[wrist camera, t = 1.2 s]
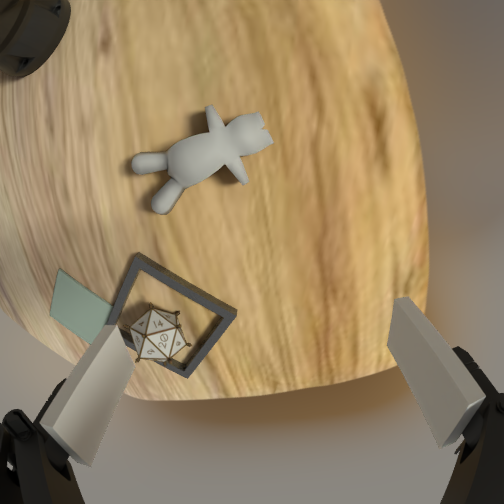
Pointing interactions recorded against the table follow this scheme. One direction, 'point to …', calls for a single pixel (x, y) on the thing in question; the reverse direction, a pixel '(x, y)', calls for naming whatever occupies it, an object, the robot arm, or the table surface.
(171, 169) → the grey teddy bear
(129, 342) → the socket frame
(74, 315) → the pad
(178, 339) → the game die
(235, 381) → the table surface
